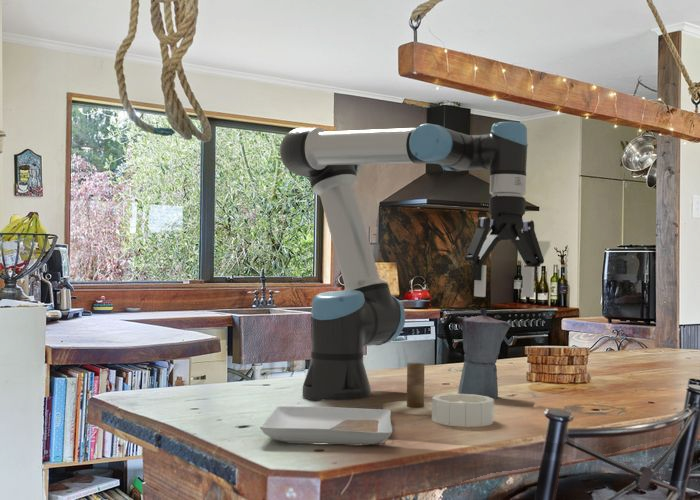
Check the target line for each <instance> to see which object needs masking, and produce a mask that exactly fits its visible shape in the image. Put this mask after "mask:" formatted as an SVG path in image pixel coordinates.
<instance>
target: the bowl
mask: <svg viewBox="0 0 700 500" xmlns="http://www.w3.org/2000/svg"><path fill="white" fill-rule="evenodd" d="M458 401H467V402H458ZM431 402H432V414H431V421H432V422H434V423H436V424H440V425H443V426H444V425H445V426H450V427H452V426H453V427H462V428H463V427H464V428H467V427H468V428H472V427H473V428H475V427H486V426H490V425H491V426H492V424H494V422H495V399H494V398H490V397H487V396H481V395H474V394H458V393H442V394H435V395H434V396H433V397H431Z"/></svg>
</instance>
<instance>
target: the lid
mask: <svg viewBox="0 0 700 500" xmlns="http://www.w3.org/2000/svg"><path fill="white" fill-rule="evenodd" d="M406 367H407V368H406V400H397V401H391V402H386V403H383V404H382V409H385V410H390V411H391V413H394V414H403V415H416V416H417V415H418V416H419V415H432V401H425V363H424V362H417V361H415V362H414V361H411V362H407V365H406Z"/></svg>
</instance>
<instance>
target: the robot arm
mask: <svg viewBox="0 0 700 500" xmlns="http://www.w3.org/2000/svg"><path fill="white" fill-rule="evenodd" d="M490 128H491V130H490V133H486V134H471V135H470V134H466V133H462V132H459V131H455V130H452V129H449V128H446V127H444V126H442V125H439V124H436V123H434V124H433V123H422V124H420V125H419V126H417V127H401V128H399V127H398V128H377V129H359V130H358V129H357V130H356V129H355V130H335V131H326V130H325V129H323V128H322V127H304V126H303V127H297V128H294V129H292V130H290V131H289V132H288V133H286V134H285V135H284V137H283V139H282V141H281V143H280V147H279V155H280V159H281V162H282V163H283V166H285V168H286V169H287V170H288V171H289V172H290V173H293V174H294V175H296V176H300V177H304V178H308V180H309V183H310V188H311V191H312V193H313V194H315V195H317V196H319V198H320V200H321V203H322V204H321V205H322V208H323V211H324V212H323V213H324V216H325V218H326V222H327V226H328V229H329V233H330V237H331V240H332V245H333V248H334V251H335V252H334V253H335V256H336V259H337V262H338V266H339V270H340V273H341V277H342V281H343V284H344V289H343V290H342V289H340V290H336V291H335V290H331V291H324V292H321V293H318V294H316V295H315V296H314V297H313V298H312V303H311V310H310V316H311V317H310V318H311V326H310V328H311V329H310V332H311V333H310V338H311V339H310V341H311V342H310V345H311V346H310V363H309V367H308V370H307V372H306V376H305V378H304V382H303V384H302V397H303V398H304V399H308V400H312V401H317V402H318V401H319V402H321V401H322V400H323V401H324V400H327V401H351V400H361V399H366V398H370V397H371V396H372V395H371V391H372V389H371V385H370V381H369V377H368V374H367V370H366V367H365V364H364V347H368V346H381V345H384V344H388V343H391V342H393V341H395V339H397V338H398V337H399V336H400V334H401V333H402V330H403V329H404V327H405V323H406V311H405V308H404V305H403V304H402V302H401V301H400V299H399V298H396V297H395V296H394V295H392V294H391V290H390V286H389V284H388V282H387V281H385V280H384V279H381V277H380V275H379V271H378V269H377V263H376V262H375V258H374V254H373V251H372V248H371V243H370V240H369V236H368V233H367V229H366V226H365V222H364V219H363V216H362V211H361V208H360V205H359V200H358V197H357V193H356V191H355V188H354V187H355V186H356V184H357V182H358V176H357V175H358V172H359V167H360V166H361V165H391V164H392V165H393V164H394V165H395V164H396V165H397V164H399V165H400V164H421V165H422V164H423V165H424V164H434V165H435V164H436V165H440V166H441V169H443V170H444V171H451V172H453V171H454V172H461V171H472V170H473V171H474V170H475V171H476V170H489V189H488V190H489V194H490V195H491V196H490V197H489V199H488V200H489V201H488V213H489V215H490V217H489V216H486V217H485V216H482V217H478V220H477V227H476V229H475V232H474V235H473V237H472V240H471V242H470V244H469V246H468V248H467V251H466V254H465V256H464V260H465V261H466V262H468V263H469V264H470V265H472V280H473V281H474V283H473V284H474V285H473V287H474V288H473V297H479V298H485V297H486V296H487V295H486V293H487V292H486V290H487V264H484V263H485V261H486V260H487V259H488V257H489V256H490V254H491V252H492V251H493V250H494V248H495V247H496V246H497V244H498V243H499V242H500V241H510V242H511V243H513V245H514V247H515V248H516V250H517V252H518V254H519V255H520V257H521V259H522V260H523V262H524V264H525V265H526V266H522V284H521V286H522V288H521V290H522V291H521V297H523V298H526V297H527V298H534V294H535V293H534V291H535V282H536V279H537V267H540V266H541V264H544V263H545V259H544V256H543V253H542V250H541V247H540V244H539V241H538V237H537V234H536V232H535V222H534V220H532V219H531V220H524V219H523V216H524V215H525V213H526V198H525V197H524V195H526V191H527V190H526V187H527V186H526V185H527V162H528V161H527V159H528V158H527V157H528V145H529V144H528V128H527V126H526V125H525V124H524V123H522V122H518V121H500V122H496V123H495V122H494V123H493V124H492V126H491V127H490ZM490 229H491V230H490Z"/></svg>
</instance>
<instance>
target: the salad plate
mask: <svg viewBox="0 0 700 500" xmlns="http://www.w3.org/2000/svg"><path fill="white" fill-rule="evenodd" d="M391 416H392V412H391V411H390V410H385V409H383V408H382V409H381V408H378V409H377V408H363V407H362V408H361V407H360V408H357V407H339V406H338V407H336V406H287V405H285V406H281V405H279V406H276V407H275V408H274V409H273V410H272V412H271V413H270V414H269V416H267V418H266V419H265V421H263V423H261V425H260V426H259V429H260V430H261V432H262V433H263V434H265V436H267V437H269V438H270V439H273V440H275V441H280V442H282V443H284V442H288V443H287V444H293V443H328V444H362V445H361V446H369V445H368V444H372V445H377V444H381V443H383V442H384V441H387V440H388V439H389V438H390V436H392V433H393V424H392V421H391ZM345 421H377V422H378V423H377V431H365V430H363V431H362V430H361V431H360V430H349V429H348V430H347V429H334V427H335V426H337V425H340V424H341V423H343V422H345ZM332 428H333V429H332Z"/></svg>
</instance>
